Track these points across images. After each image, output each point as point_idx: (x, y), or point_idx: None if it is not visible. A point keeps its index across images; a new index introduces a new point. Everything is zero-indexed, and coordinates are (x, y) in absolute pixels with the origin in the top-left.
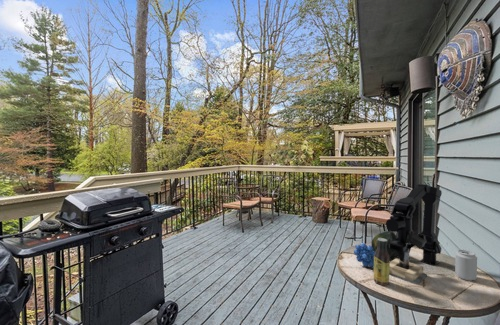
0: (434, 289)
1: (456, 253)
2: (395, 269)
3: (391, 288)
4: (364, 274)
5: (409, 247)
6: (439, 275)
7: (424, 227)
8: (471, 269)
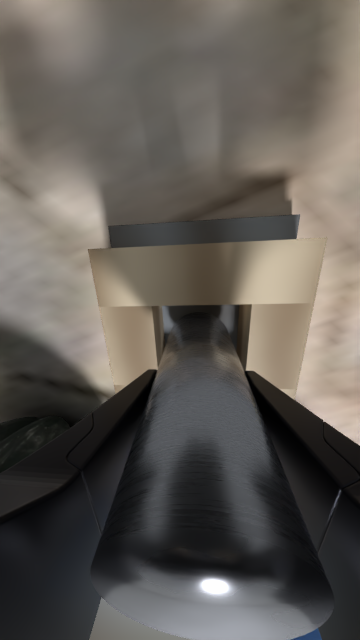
0: (278, 97)
1: None
2: (297, 364)
3: None
4: (356, 438)
5: (50, 526)
6: (33, 177)
7: None
8: None
